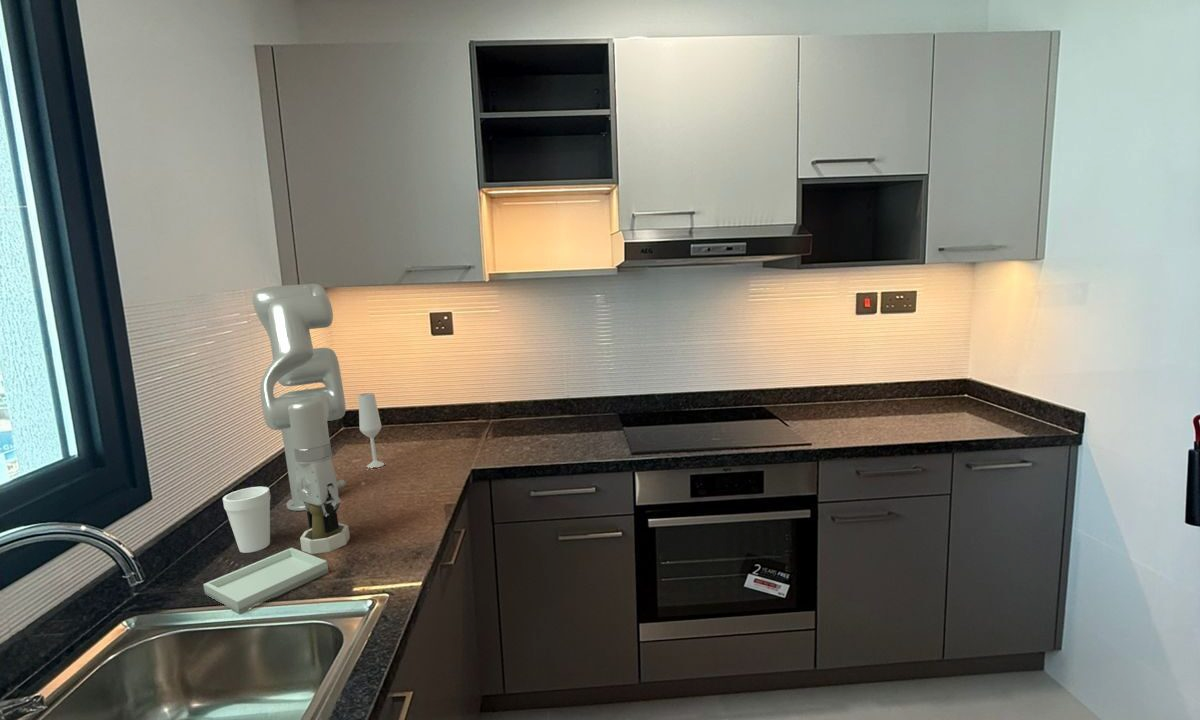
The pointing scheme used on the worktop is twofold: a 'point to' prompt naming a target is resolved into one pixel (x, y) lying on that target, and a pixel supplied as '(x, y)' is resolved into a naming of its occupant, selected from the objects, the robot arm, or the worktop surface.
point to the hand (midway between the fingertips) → (323, 527)
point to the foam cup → (249, 517)
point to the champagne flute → (369, 422)
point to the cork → (319, 522)
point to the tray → (265, 579)
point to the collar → (325, 541)
